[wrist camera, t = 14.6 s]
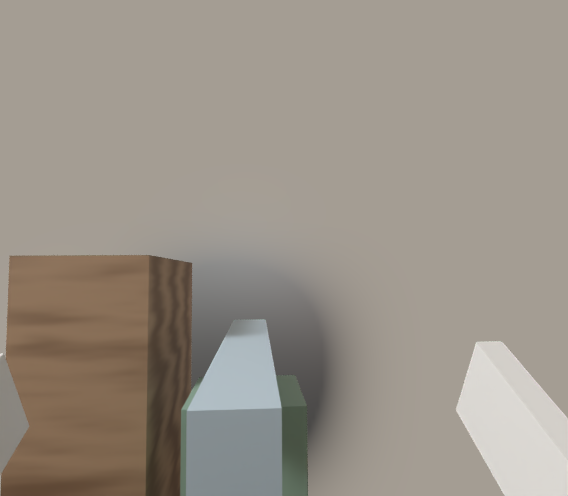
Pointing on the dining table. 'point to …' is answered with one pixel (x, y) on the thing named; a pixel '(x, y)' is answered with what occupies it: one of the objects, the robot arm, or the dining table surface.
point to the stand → (98, 373)
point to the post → (291, 437)
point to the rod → (236, 420)
